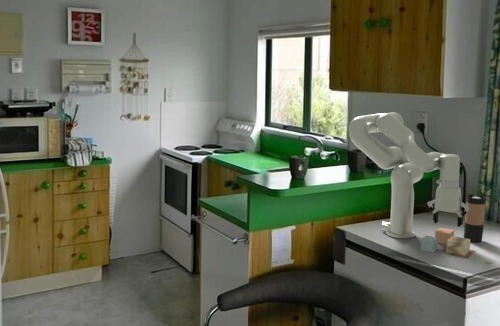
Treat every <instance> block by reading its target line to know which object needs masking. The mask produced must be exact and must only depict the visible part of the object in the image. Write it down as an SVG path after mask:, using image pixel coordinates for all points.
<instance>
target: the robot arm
mask: <svg viewBox="0 0 500 326" xmlns="http://www.w3.org/2000/svg"><path fill="white" fill-rule="evenodd" d="M374 133H382V134H383V135H385V136H386V137H387V138H388V139H389V140H390V141H392V142H393V143H394V144H395V145H396V146H395V145H394V146H386V145H385V144H383V143H382V142H381V141H380V140H379V139H378V138H376V136H373V135H371V134H374ZM348 135H349V139H350V140H351V142H352V143H353V145H355V146H356V147H357V148H358V149H359V151H361V152H362V153H363V154H365V155H366V156H367V157H368V159H370V160H371V161H372V162H373V163H375V164H376V166H378V167H379V168H380V169H382V170H385V171H386V170H391V169H392V171H391V174H390V183H391V202H390V204H391V205H390V219H389V222H386V221H381V227H382V228H386V231H385V234H386V235H387V236H389V237H392V238H396V239H413V238H414V237H415V236H416V232H415V231H414V230H413V219H414V205H415V201H414V200H415V190H414V184H416V183H417V182H419V181H421V179H423V177H424V173H431V172H433V171H436V170H439V179H436V182H435V183H436V184H437V185H438V186H437V188H436V191H435V198H434V199H433V200H429V201H427V206H428V209H429V210H430V211H431V212H432V215H433V216H432V220H433V223H434V224H437V223H439V212H447V213H452V214H454V213H456V214H457V226H456V227H461V226H463V223H464V222H463V221H464V217H465V214H466V213H467V212H468V211H469V209H470V207H469V206H467V205H466V203H465V202H463V201H462V198H463V197H462V190H461V187H460V167H461V163H460V162H461V161H460V160H461V158H460V156H459V154H457V153H456V154H454V153H443V152H438V151H430V152H428V153H426V151H424V150H423V149H422V148H421V147H420V146H419V145H417V143H416V141H415V134H414V132H413V131H412V130H411V129H410V128H409V127H407V126H406V125H404V118H403V117H402V115H401V114H400V113H398V112H396V111H392V112H386V113H385V112H384V113H375V114H373V113H372V114H371V113H370V114H367V115H359V116H357V117H355V118H353V119H352V120H351V121H350V123H349V125H348ZM433 204H434V206H433ZM462 208H464V211H462Z"/></svg>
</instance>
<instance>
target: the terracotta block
mask: <svg viewBox="0 0 500 326" xmlns="http://www.w3.org/2000/svg"><path fill="white" fill-rule="evenodd" d="M452 236H455V230H454V229H450V228H444V227H439V228H438V229H435V232H434V237H437V238H438V244H443V245H446V246H447V240H448V239H449V238H451V237H452Z"/></svg>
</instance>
